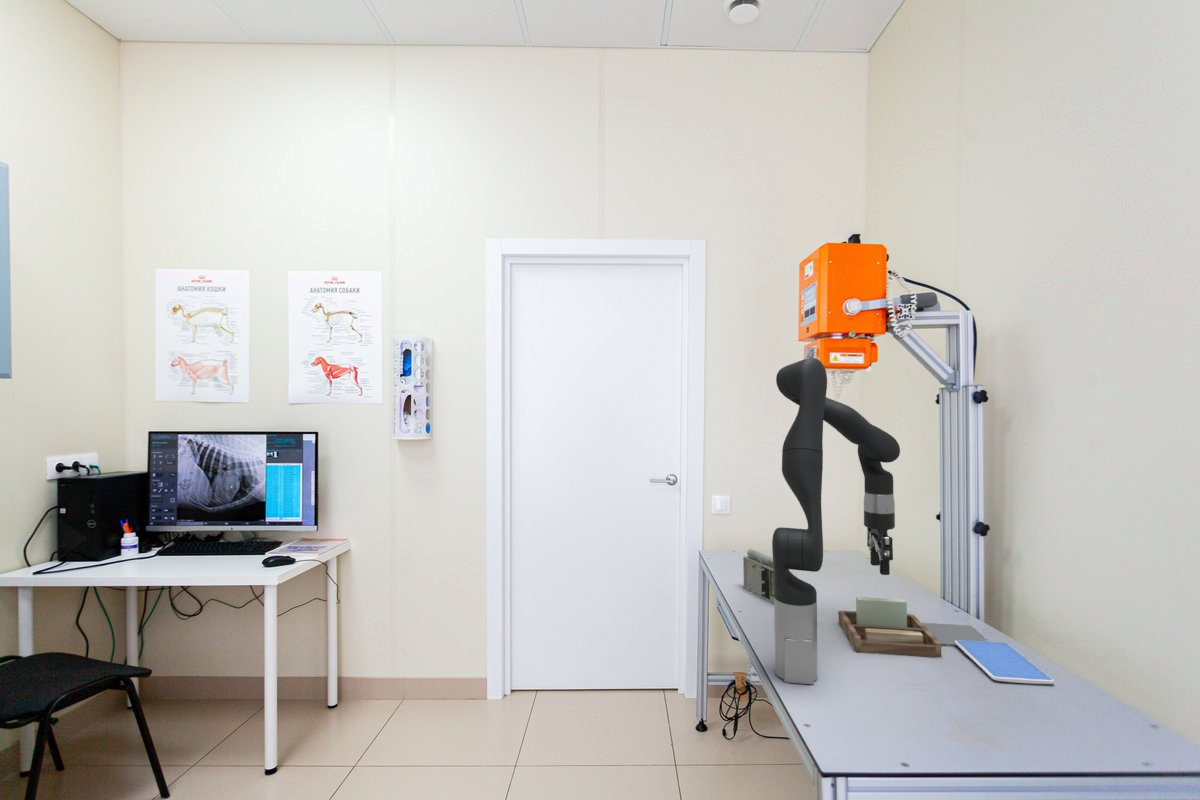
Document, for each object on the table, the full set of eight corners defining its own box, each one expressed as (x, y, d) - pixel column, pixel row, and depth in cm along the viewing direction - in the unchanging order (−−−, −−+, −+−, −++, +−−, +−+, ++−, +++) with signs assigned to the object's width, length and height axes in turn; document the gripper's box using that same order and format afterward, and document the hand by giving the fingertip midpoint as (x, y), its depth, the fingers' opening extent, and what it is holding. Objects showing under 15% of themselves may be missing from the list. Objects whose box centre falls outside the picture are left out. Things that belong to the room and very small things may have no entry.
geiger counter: (739, 547, 190) (789, 567, 167) (755, 545, 192) (807, 564, 169) (740, 589, 190) (790, 615, 167) (756, 586, 192) (807, 611, 169)
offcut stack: (923, 653, 141) (923, 635, 141) (867, 649, 143) (866, 631, 143) (917, 646, 145) (917, 628, 145) (862, 642, 147) (862, 625, 147)
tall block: (907, 636, 151) (906, 602, 151) (858, 633, 153) (858, 599, 153) (904, 632, 153) (903, 599, 153) (856, 629, 155) (856, 596, 156)
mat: (996, 649, 142) (996, 647, 142) (935, 645, 145) (935, 643, 145) (970, 627, 156) (970, 625, 156) (915, 624, 159) (915, 622, 159)
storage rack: (941, 657, 138) (941, 643, 138) (855, 652, 142) (855, 638, 142) (913, 627, 157) (913, 614, 157) (838, 622, 160) (838, 610, 160)
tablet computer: (952, 643, 145) (952, 638, 145) (1007, 646, 143) (1007, 641, 143) (993, 683, 126) (993, 677, 125) (1056, 687, 124) (1056, 681, 124)
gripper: (903, 515, 146) (903, 578, 146) (885, 504, 160) (886, 562, 160) (871, 514, 147) (872, 577, 147) (857, 504, 161) (857, 561, 161)
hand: (879, 569), depth 154 cm, fingers open, 8 cm apart
